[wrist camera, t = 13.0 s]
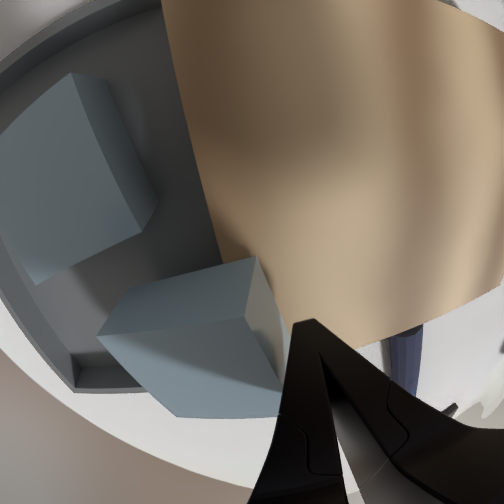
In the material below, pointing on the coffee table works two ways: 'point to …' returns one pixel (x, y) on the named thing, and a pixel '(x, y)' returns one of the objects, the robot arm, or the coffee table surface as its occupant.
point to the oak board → (349, 152)
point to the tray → (156, 169)
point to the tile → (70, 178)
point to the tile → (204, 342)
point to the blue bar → (409, 361)
